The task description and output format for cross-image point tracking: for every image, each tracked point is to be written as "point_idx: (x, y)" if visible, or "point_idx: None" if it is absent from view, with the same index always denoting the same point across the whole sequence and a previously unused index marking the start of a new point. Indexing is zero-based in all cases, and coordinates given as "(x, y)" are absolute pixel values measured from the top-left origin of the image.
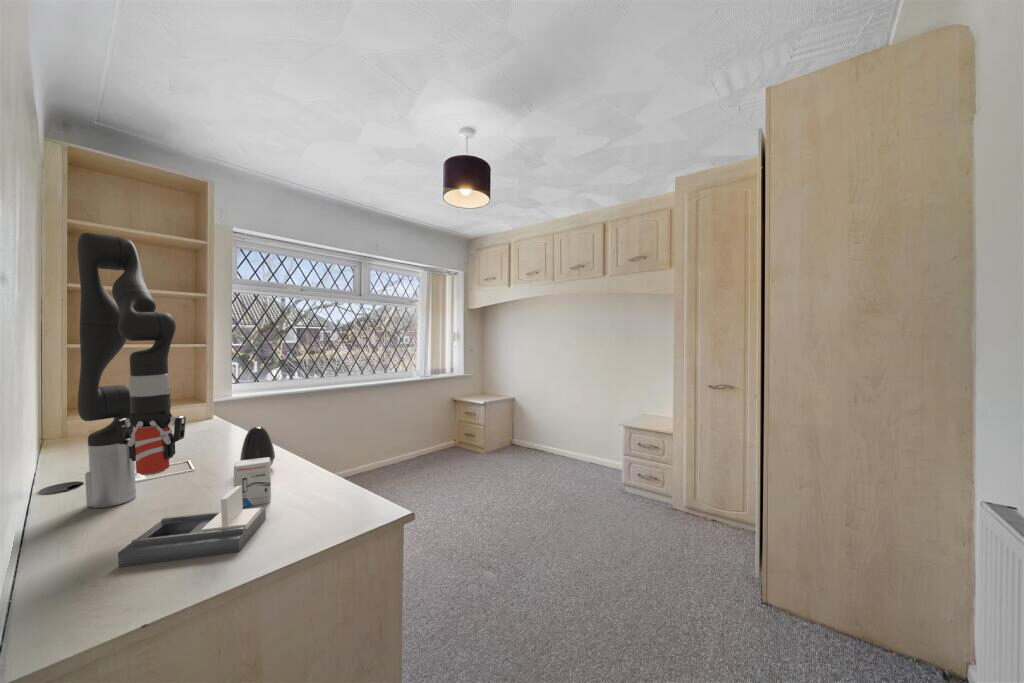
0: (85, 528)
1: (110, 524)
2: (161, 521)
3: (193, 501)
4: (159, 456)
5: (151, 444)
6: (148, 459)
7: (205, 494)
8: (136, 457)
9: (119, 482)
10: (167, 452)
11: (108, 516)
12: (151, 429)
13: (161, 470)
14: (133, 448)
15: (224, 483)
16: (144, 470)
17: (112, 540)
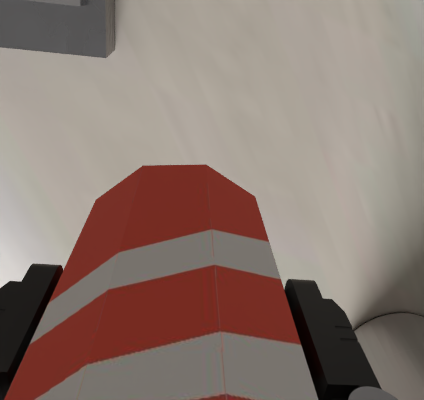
0: (401, 173)
1: (337, 179)
2: (98, 14)
3: None
4: (76, 258)
5: (89, 338)
6: (152, 220)
7: None
8: (268, 263)
9: (395, 384)
10: (15, 302)
11: (366, 246)
12: None
13: (98, 198)
14: (330, 366)
15: None
16: (188, 174)
17: (275, 22)
